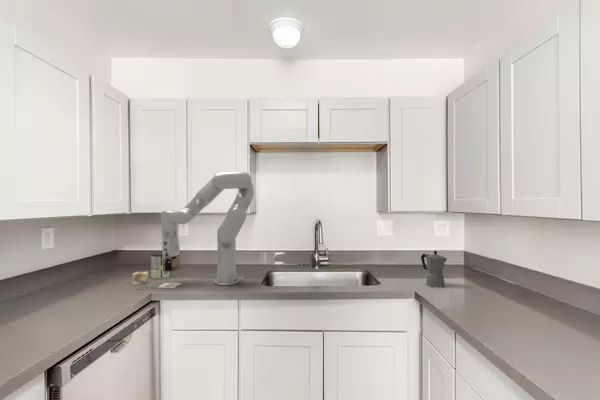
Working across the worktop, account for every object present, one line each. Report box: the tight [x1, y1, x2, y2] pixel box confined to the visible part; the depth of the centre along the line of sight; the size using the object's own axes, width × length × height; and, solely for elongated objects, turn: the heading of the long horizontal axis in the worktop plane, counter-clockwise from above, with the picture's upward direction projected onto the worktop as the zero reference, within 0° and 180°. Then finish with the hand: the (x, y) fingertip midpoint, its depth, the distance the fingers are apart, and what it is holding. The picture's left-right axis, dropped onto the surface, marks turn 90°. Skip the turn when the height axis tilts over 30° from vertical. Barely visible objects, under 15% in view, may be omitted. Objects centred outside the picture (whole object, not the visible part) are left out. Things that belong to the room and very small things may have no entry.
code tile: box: [158, 282, 182, 289], centre depth 175 cm, size 9×9×1 cm
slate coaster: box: [135, 284, 160, 291], centre depth 170 cm, size 8×8×1 cm
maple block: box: [132, 271, 149, 286], centre depth 179 cm, size 6×6×6 cm
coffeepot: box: [420, 250, 448, 288], centre depth 178 cm, size 15×9×18 cm, turn 33°
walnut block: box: [163, 256, 181, 272], centre depth 175 cm, size 6×6×6 cm
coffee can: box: [150, 251, 171, 280], centre depth 193 cm, size 10×10×14 cm
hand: (171, 268), depth 175 cm, fingers closed on walnut block, 6 cm apart
